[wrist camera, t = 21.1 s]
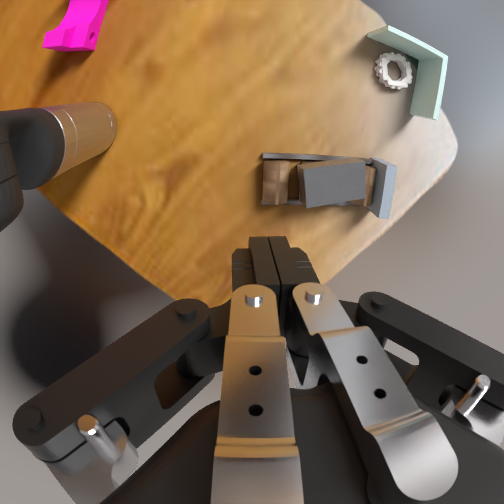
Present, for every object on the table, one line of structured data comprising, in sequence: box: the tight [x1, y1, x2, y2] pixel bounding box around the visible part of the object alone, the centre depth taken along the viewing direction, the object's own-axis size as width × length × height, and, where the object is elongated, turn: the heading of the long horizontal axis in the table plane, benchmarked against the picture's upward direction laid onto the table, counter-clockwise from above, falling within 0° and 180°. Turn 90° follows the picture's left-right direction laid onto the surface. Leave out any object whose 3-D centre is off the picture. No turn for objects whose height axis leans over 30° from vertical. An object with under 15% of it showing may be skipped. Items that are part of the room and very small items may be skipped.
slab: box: [297, 157, 366, 208], centre depth 44 cm, size 10×6×3 cm, turn 98°
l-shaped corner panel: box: [367, 25, 448, 120], centre depth 37 cm, size 12×12×8 cm
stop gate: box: [365, 158, 397, 219], centre depth 47 cm, size 2×9×6 cm, turn 179°
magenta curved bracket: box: [42, 0, 109, 52], centre depth 28 cm, size 15×6×8 cm, turn 167°
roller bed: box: [261, 153, 376, 206], centre depth 47 cm, size 19×8×4 cm, turn 89°
